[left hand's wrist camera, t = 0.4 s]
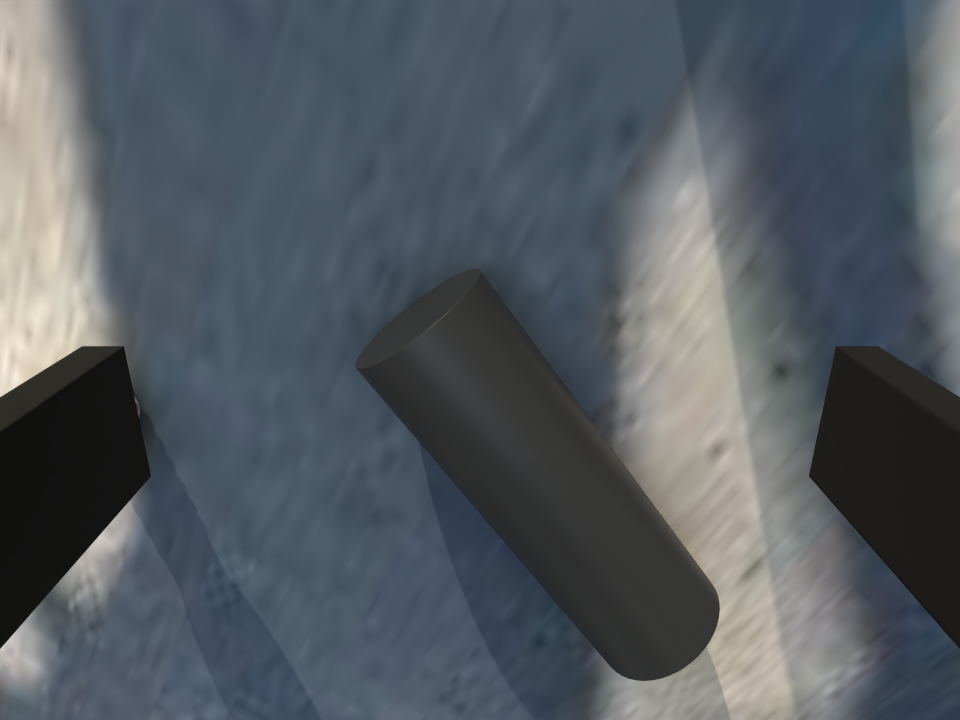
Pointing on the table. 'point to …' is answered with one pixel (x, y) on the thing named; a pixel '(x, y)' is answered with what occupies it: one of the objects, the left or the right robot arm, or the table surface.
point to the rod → (542, 476)
